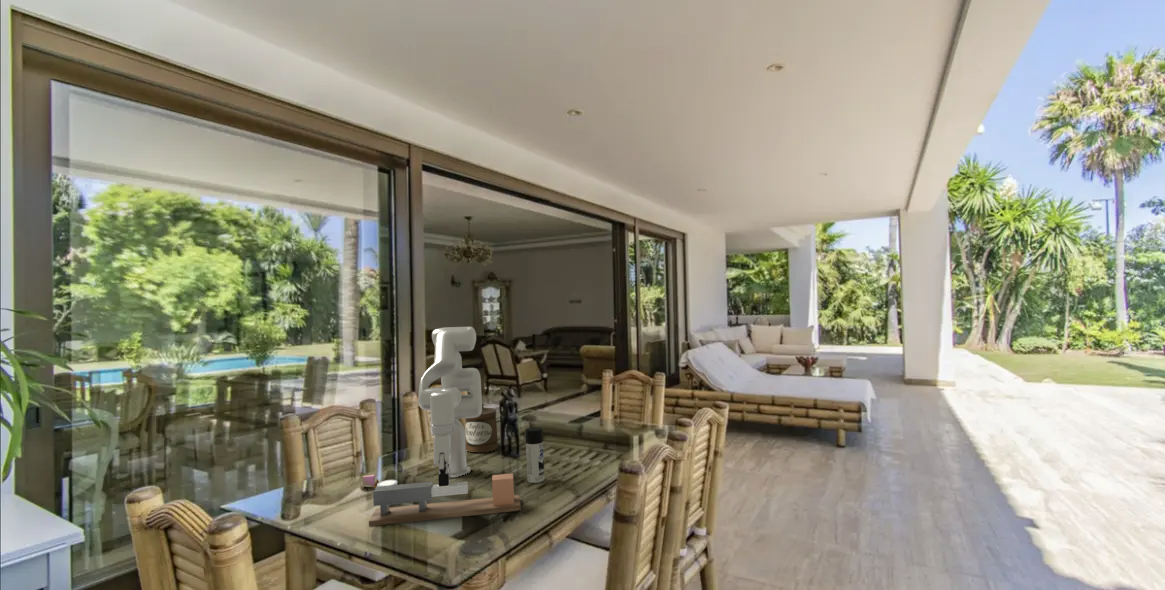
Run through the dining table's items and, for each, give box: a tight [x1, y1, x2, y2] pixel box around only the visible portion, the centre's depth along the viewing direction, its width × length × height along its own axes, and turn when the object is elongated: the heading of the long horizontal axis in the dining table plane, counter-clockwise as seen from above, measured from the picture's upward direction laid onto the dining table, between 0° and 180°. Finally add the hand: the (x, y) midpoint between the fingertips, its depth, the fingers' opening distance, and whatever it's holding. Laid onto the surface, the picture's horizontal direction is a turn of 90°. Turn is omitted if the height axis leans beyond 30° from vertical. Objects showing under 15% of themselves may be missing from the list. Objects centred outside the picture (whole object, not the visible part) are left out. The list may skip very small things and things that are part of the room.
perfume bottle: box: [361, 474, 380, 490], centre depth 200 cm, size 12×12×4 cm
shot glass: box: [377, 479, 398, 506], centre depth 183 cm, size 7×7×7 cm
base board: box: [368, 494, 522, 527], centre depth 173 cm, size 10×48×2 cm, turn 99°
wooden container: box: [464, 402, 499, 453], centre depth 245 cm, size 15×15×22 cm
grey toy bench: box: [372, 481, 433, 516], centre depth 171 cm, size 5×18×8 cm, turn 99°
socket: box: [491, 472, 515, 506], centre depth 176 cm, size 5×7×8 cm
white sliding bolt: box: [431, 465, 469, 498], centre depth 172 cm, size 4×27×9 cm, turn 99°
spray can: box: [524, 426, 546, 484], centre depth 200 cm, size 7×7×20 cm
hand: (444, 482), depth 173 cm, fingers closed on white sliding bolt, 4 cm apart
